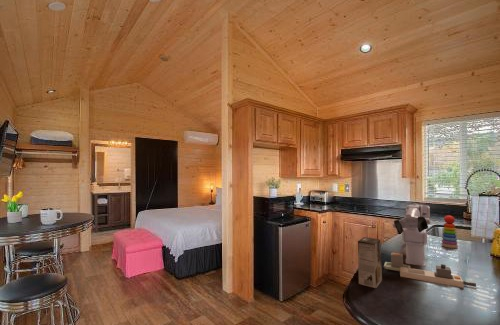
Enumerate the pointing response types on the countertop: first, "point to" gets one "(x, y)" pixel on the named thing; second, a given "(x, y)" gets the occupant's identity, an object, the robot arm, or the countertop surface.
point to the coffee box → (369, 262)
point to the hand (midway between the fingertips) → (408, 231)
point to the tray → (388, 265)
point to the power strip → (433, 277)
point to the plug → (396, 260)
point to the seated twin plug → (443, 271)
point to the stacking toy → (449, 233)
